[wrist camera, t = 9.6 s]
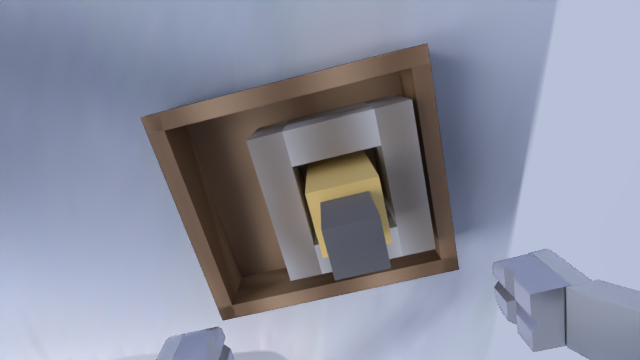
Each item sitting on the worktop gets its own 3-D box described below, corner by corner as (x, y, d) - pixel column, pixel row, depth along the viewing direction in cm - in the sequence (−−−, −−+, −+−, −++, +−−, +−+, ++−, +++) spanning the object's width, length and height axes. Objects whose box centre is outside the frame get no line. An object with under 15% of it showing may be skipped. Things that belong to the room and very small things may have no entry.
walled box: (235, 284, 27) (218, 331, 22) (169, 109, 23) (131, 120, 18) (437, 240, 26) (465, 278, 21) (408, 47, 22) (433, 41, 17)
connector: (320, 206, 24) (324, 295, 15) (307, 157, 23) (303, 220, 14) (371, 194, 24) (407, 277, 14) (360, 144, 23) (392, 199, 13)
